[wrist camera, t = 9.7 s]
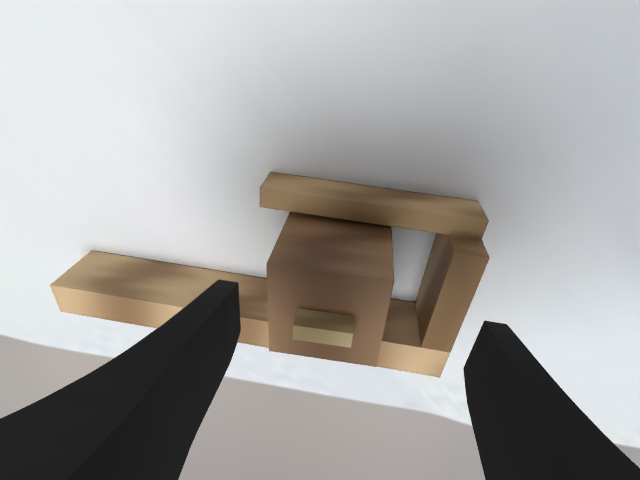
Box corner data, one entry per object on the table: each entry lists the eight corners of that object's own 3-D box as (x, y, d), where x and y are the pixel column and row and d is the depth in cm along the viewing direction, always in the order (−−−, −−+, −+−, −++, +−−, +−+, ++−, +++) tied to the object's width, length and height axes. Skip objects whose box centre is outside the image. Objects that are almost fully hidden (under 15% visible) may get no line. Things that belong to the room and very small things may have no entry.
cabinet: (390, 209, 19) (395, 297, 13) (377, 284, 22) (376, 385, 16) (296, 199, 20) (259, 279, 14) (294, 273, 22) (263, 368, 16)
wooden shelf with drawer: (478, 201, 18) (497, 238, 15) (432, 330, 23) (440, 377, 20) (60, 142, 20) (3, 165, 17) (99, 275, 24) (60, 311, 22)
